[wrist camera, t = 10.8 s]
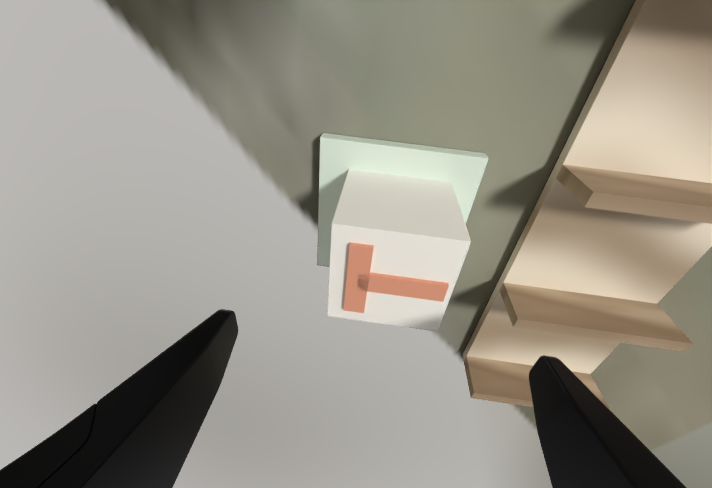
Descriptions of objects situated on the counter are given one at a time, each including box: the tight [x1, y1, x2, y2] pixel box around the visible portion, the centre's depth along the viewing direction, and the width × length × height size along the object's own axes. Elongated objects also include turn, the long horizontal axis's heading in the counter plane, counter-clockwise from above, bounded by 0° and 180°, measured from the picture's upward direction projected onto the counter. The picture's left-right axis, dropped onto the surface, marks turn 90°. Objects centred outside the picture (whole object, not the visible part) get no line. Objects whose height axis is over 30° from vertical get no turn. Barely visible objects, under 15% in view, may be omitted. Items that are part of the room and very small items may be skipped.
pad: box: [317, 133, 489, 267], centre depth 15 cm, size 7×7×1 cm
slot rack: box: [463, 0, 712, 409], centre depth 14 cm, size 20×8×3 cm, turn 175°
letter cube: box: [327, 169, 471, 332], centre depth 13 cm, size 4×4×5 cm
